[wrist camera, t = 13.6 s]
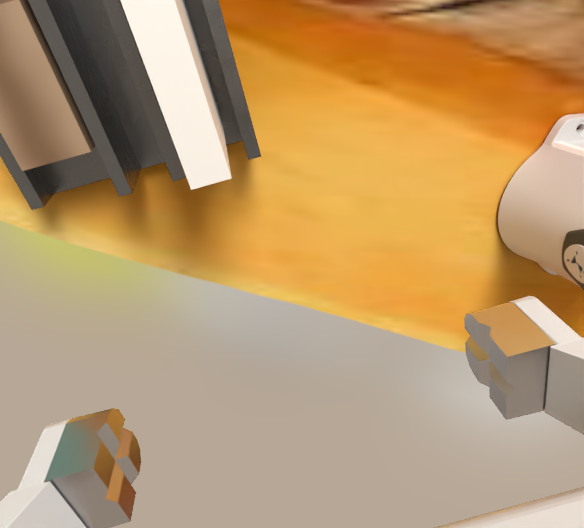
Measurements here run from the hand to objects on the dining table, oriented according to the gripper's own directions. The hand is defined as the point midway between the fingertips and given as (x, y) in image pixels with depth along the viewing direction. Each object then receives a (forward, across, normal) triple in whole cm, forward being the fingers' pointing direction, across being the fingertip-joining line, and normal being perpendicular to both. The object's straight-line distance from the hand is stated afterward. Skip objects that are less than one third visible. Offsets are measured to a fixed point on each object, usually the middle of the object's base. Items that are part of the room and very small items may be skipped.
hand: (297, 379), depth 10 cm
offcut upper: (+30, -14, +6) cm, 33 cm away
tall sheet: (+32, -3, +7) cm, 33 cm away
